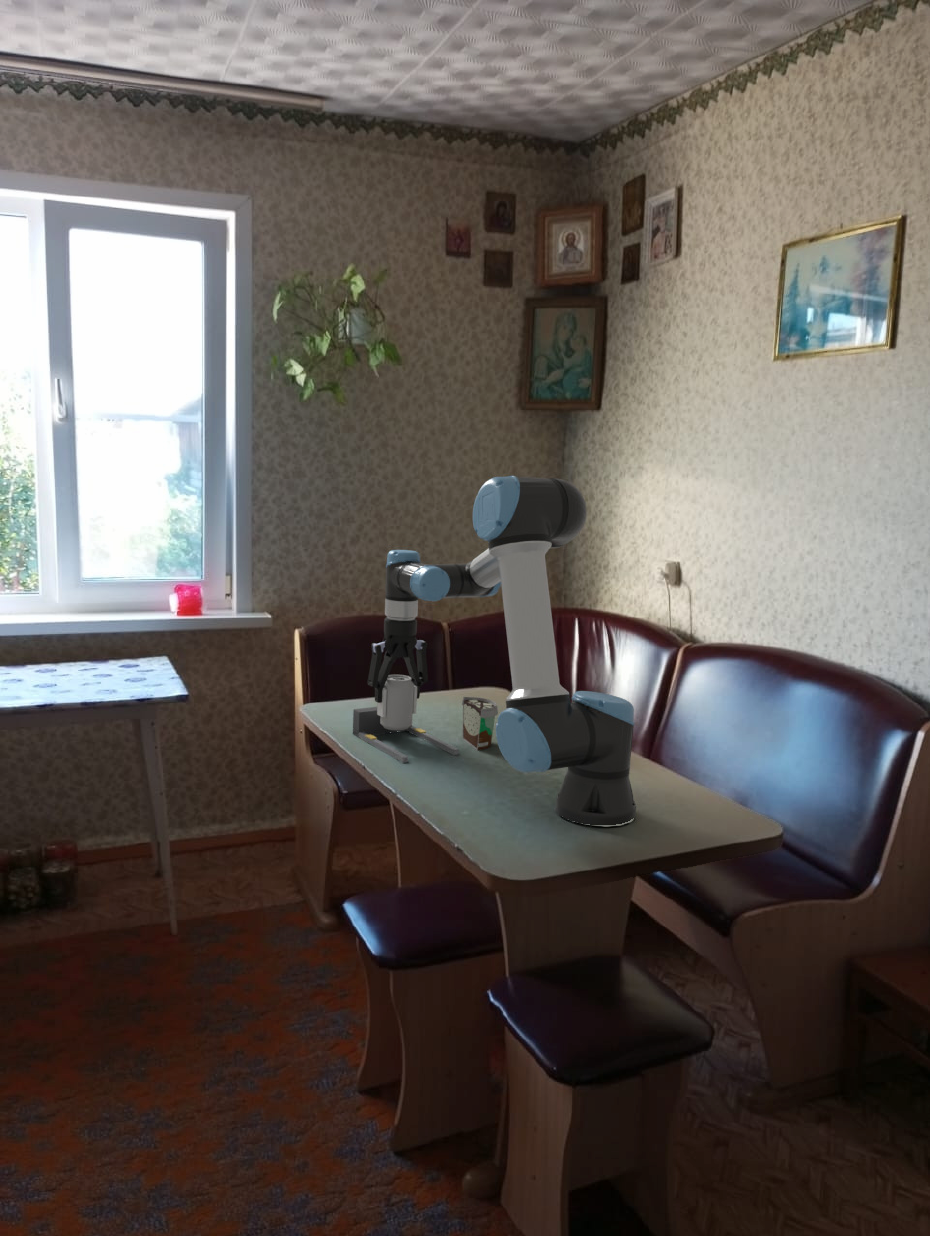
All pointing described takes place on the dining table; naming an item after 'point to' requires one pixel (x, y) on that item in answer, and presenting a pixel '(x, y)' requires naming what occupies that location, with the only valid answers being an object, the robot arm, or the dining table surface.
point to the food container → (478, 721)
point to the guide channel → (369, 725)
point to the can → (398, 702)
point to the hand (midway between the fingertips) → (396, 713)
